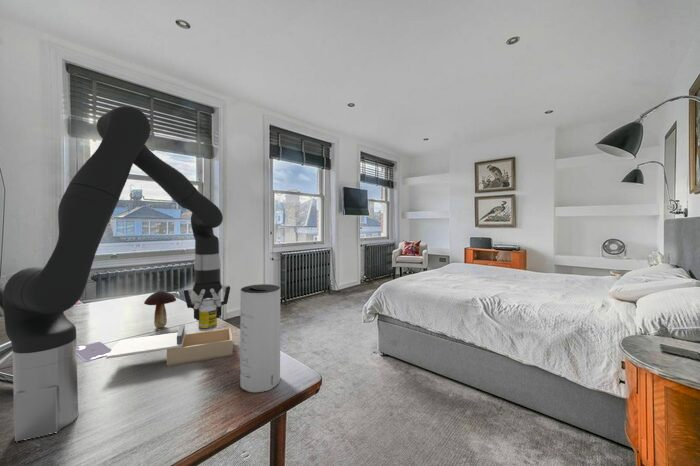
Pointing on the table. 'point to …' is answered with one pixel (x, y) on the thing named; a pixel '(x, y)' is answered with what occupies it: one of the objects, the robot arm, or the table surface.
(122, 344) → the mailer lid
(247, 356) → the speaker
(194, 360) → the light wooden open box
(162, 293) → the decorative mushroom
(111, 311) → the table surface
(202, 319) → the supplement bottle
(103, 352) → the mobile phone
